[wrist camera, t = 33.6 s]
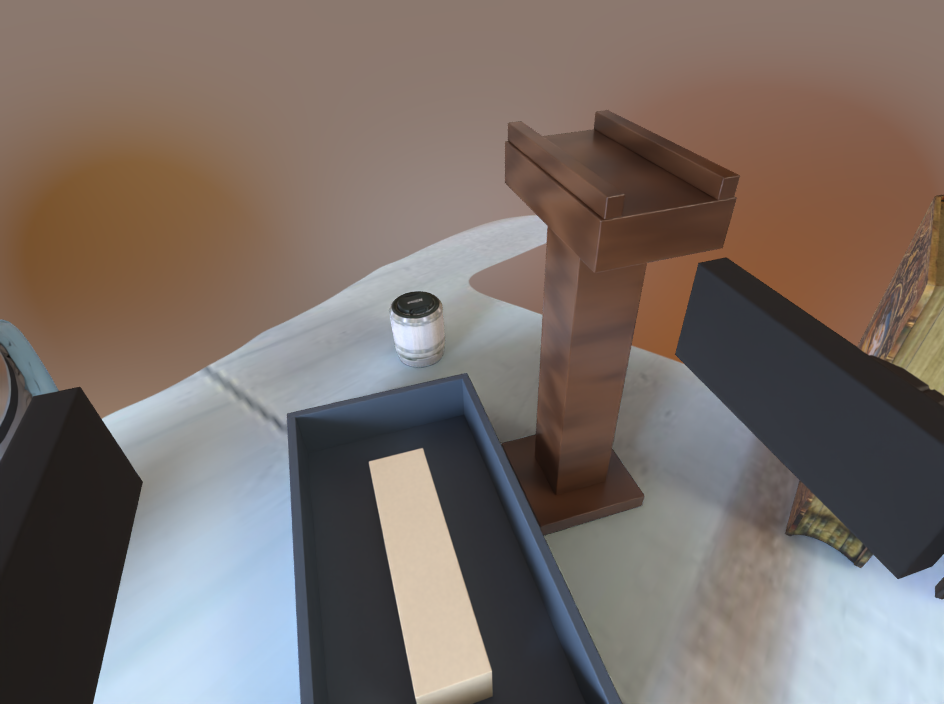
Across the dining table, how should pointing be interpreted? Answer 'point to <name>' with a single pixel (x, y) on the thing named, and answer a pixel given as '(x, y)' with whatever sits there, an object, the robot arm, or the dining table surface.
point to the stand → (600, 293)
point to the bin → (474, 540)
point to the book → (893, 358)
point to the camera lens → (418, 328)
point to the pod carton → (429, 585)
